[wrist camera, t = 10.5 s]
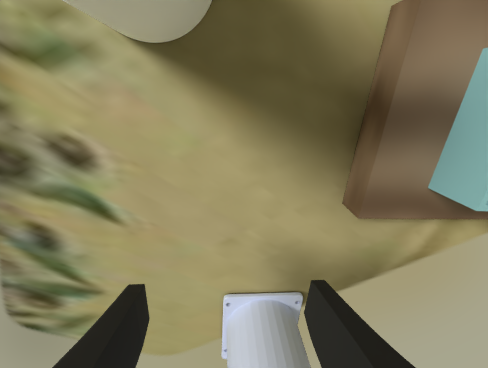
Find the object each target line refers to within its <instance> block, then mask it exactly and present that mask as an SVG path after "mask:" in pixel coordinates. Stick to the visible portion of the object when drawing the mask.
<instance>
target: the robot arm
mask: <svg viewBox="0 0 488 368" xmlns="http://www.w3.org/2000/svg"><path fill="white" fill-rule="evenodd" d="M302 301H303V296H302V294H301V293H299V292H291V293H257V294H228V295H225V296H224V300H223V330H222V358H223V359H227V368H311V367H310V364H309V361H308V357H307V354H306V351H305V348H304V345H303V342H302V338H301V336H300V332H299V329H298V326H297V324H298V320H299V315H300V310H301V306H302ZM304 314H305V318H306V322H307V326H308V330H309V333H310V337H311V340H312V343H313V346H314V348H315V351H316V354H317V356H318V359H319V361H320V364H321V367H322V368H415V367H414V366H413V365H412V364H410V363H409V362H408V361H407V360H406V359H404V357H402V356H401V355H400V354H399V353H398V352H397V351H396V350H394V349H393V348H392V347H391V346H390V345H389V344H388V343H387V342H386V341H385V340H384V339H382V338H381V337H380V336H379V335H378V334H377V333H376V332H375V331H374V330H373V329H372V328H371V327H370V326H369V325H368V324H367V323H366V322H365V321H364V320H362V319H361V317H360V316H359V315H358V314H357V313H356V312H354V310H353V309H352V308H351V307H350V306H349V305H348V304H347V303H346V302H345V301H344V300H343V299H342V298H341V297H340V296H339V295H338V294H337V293H336V292H335V290H334V289H333V288H332V287H331V286H330V285H329V284H328V283H327V282H326V281H325V280H311V284H310V289H309V293H308V298H307V302H306V306H305V311H304ZM148 323H149V312H148V305H147V298H146V291H145V284H132V285H128V286H127V287H126V288H125V289H124V291H123V292H122V293H121V294H120V295H119V296H118V298H117V299H116V300H115V301H114V302H113V303H112V305H111V306H110V307H109V308H108V309H107V310H106V311H105V313H104V314H103V315H102V316H101V317H100V318H99V319H98V320H97V321H96V323H95V324H94V325H93V326H92V327H91V328H90V329H89V330H88V331H87V332H86V334H85V335H84V336H83V337H82V338H81V339H80V340H79V341H78V342H77V343H76V344H75V345H74V346H73V347H72V348H71V349H70V350H69V351H68V352H67V353H66V354H65V355H64V356H63V357H62V358H61V359H60V360H59V362H58V363H56V365H54V367H52V368H135V367H136V365H137V362H138V359H139V356H140V353H141V350H142V347H143V343H144V339H145V335H146V331H147V327H148Z"/></svg>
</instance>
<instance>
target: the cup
mask: <svg viewBox="0 0 488 368" xmlns="http://www.w3.org/2000/svg"><path fill="white" fill-rule="evenodd" d="M62 1H64V2H66V3H68V4H70V5H71V6H73V7H75V8H77V9H78V10H80V11H82V12H84V13H86V14H87V15H89V16H91V17H93V18H94V19H96V20H98V21H100V22H102V23H103V24H105V25H107V26H109V27H110V28H112V29H114V30H116V31H118V32H119V33H121V34H123V35H125V36H127V37H130V38H132V39H135V40H139V41H143V42H149V43H162V42H168V41H172V40H175V39H177V38H180V37H182V36H183V35H185V34H187V33H188V32H190V31H191V30H192V29H193V28H194V27H195V26H196V25H197V24H198V23H199V22H200V21H201V20H202V18H203V17H204V15H205V14H206V12H207V10H208V8H209V6H210V4H211V2H212V0H62Z"/></svg>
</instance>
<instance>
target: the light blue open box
mask: <svg viewBox="0 0 488 368" xmlns="http://www.w3.org/2000/svg"><path fill="white" fill-rule="evenodd" d="M428 188H429V189H431V190H433V191H435V192H437V193H439V194H442V195H444V196H446V197H448V198H450V199H452V200H454V201H456V202H458V203H460V204H463V205H465V206H467V207H469V208H471V209H473V210H475V211H488V48H483V50H482V53H481V55H480V58H479V60H478V63H477V65H476V68H475V70H474V73H473V75H472V78H471V80H470V83H469V85H468V88H467V90H466V93H465V96H464V98H463V101H462V103H461V106H460V108H459V111H458V113H457V116H456V118H455V121H454V123H453V126H452V128H451V131H450V133H449V136H448V138H447V141H446V143H445V146H444V148H443V151H442V153H441V156H440V158H439V161H438V163H437V166H436V168H435V171H434V173H433V176H432V178H431V181H430V184H429V186H428Z"/></svg>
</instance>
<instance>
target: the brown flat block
mask: <svg viewBox="0 0 488 368" xmlns="http://www.w3.org/2000/svg"><path fill="white" fill-rule="evenodd" d="M483 48H488V0H403V1H401V2H399V3H397V4H395V5H393V6H391V10H390V14H389V18H388V22H387V26H386V30H385V34H384V38H383V42H382V46H381V50H380V54H379V58H378V62H377V66H376V70H375V74H374V78H373V82H372V86H371V91H370V95H369V99H368V103H367V107H366V111H365V115H364V119H363V123H362V127H361V131H360V135H359V139H358V143H357V147H356V151H355V155H354V159H353V163H352V167H351V171H350V175H349V179H348V183H347V187H346V191H345V195H344V199H343V203H342V204H344V205H345V206H346V207H347V208H348V209H349V210H350V211H351V212H352V213H353V214H354V215H355V216H356V217H357V218H375V219H488V211H475V210H473V209H471V208H469V207H467V206H465V205H463V204H460V203H458V202H456V201H454V200H452V199H450V198H448V197H446V196H444V195H442V194H439V193H437V192H435V191H433V190H431V189H429V188H428V186H429V184H430V181H431V178H432V176H433V173H434V171H435V168H436V166H437V163H438V161H439V158H440V156H441V153H442V151H443V148H444V146H445V143H446V141H447V138H448V136H449V133H450V131H451V128H452V126H453V123H454V121H455V118H456V116H457V113H458V111H459V108H460V106H461V103H462V101H463V98H464V96H465V93H466V90H467V88H468V85H469V83H470V80H471V78H472V75H473V73H474V70H475V68H476V65H477V63H478V60H479V58H480V55H481V53H482V50H483Z"/></svg>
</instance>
